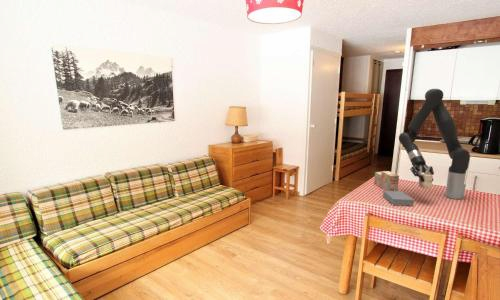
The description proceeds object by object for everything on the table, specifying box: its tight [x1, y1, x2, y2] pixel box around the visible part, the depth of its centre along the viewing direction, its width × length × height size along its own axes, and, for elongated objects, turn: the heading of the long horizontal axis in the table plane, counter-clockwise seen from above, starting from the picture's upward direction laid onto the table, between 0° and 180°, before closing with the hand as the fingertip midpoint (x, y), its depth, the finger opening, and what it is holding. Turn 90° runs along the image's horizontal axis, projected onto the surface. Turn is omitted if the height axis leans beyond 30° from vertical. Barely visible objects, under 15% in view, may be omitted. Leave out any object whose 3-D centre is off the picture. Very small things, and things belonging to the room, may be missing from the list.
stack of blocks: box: [374, 170, 400, 191], centre depth 203 cm, size 21×6×12 cm, turn 3°
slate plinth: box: [382, 190, 415, 207], centre depth 176 cm, size 12×16×4 cm
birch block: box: [417, 173, 434, 189], centre depth 171 cm, size 5×5×8 cm
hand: (427, 181), depth 170 cm, fingers closed on birch block, 5 cm apart
